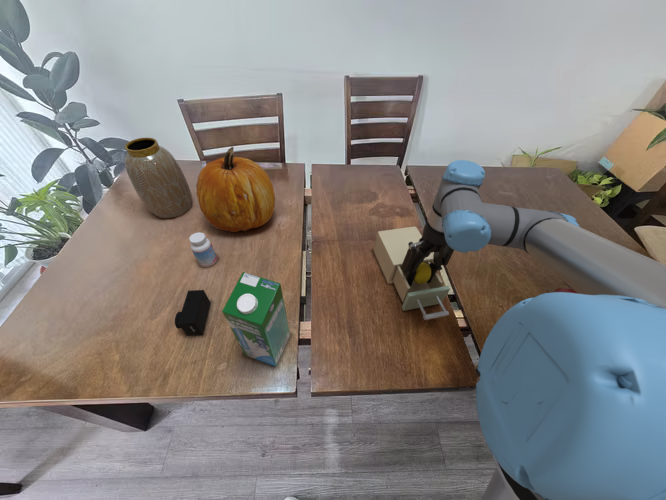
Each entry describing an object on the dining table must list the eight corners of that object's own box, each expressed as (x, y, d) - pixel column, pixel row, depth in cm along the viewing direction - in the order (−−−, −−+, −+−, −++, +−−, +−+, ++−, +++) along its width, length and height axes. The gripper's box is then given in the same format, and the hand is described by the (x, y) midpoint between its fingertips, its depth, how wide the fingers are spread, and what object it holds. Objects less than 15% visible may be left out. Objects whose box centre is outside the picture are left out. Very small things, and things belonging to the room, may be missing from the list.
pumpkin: (270, 197, 118) (258, 127, 96) (283, 231, 104) (273, 158, 82) (206, 209, 111) (178, 137, 89) (211, 248, 97) (179, 173, 75)
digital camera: (192, 303, 82) (183, 290, 77) (210, 302, 82) (203, 289, 77) (182, 336, 75) (172, 324, 70) (203, 335, 75) (194, 322, 70)
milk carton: (244, 355, 72) (218, 305, 53) (261, 325, 78) (242, 271, 59) (275, 366, 70) (259, 319, 52) (290, 335, 76) (280, 282, 58)
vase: (203, 199, 116) (179, 136, 96) (178, 225, 104) (145, 160, 85) (168, 191, 118) (137, 129, 98) (139, 216, 107) (98, 152, 87)
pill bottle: (219, 263, 92) (209, 240, 84) (200, 270, 90) (188, 246, 82) (215, 251, 96) (205, 228, 88) (197, 257, 94) (185, 234, 86)
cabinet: (426, 277, 91) (435, 258, 84) (387, 284, 89) (393, 265, 82) (409, 245, 101) (415, 226, 94) (373, 251, 99) (377, 231, 91)
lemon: (408, 287, 82) (415, 270, 76) (408, 273, 85) (414, 256, 79) (427, 290, 81) (435, 273, 75) (426, 275, 85) (434, 259, 79)
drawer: (451, 321, 79) (462, 307, 74) (411, 330, 77) (418, 316, 71) (422, 269, 92) (429, 253, 87) (387, 275, 90) (391, 259, 84)
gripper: (468, 209, 70) (439, 267, 87) (400, 218, 67) (384, 276, 84) (485, 229, 65) (451, 286, 82) (413, 239, 62) (393, 296, 79)
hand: (417, 280), depth 83 cm, fingers closed on lemon, 5 cm apart
